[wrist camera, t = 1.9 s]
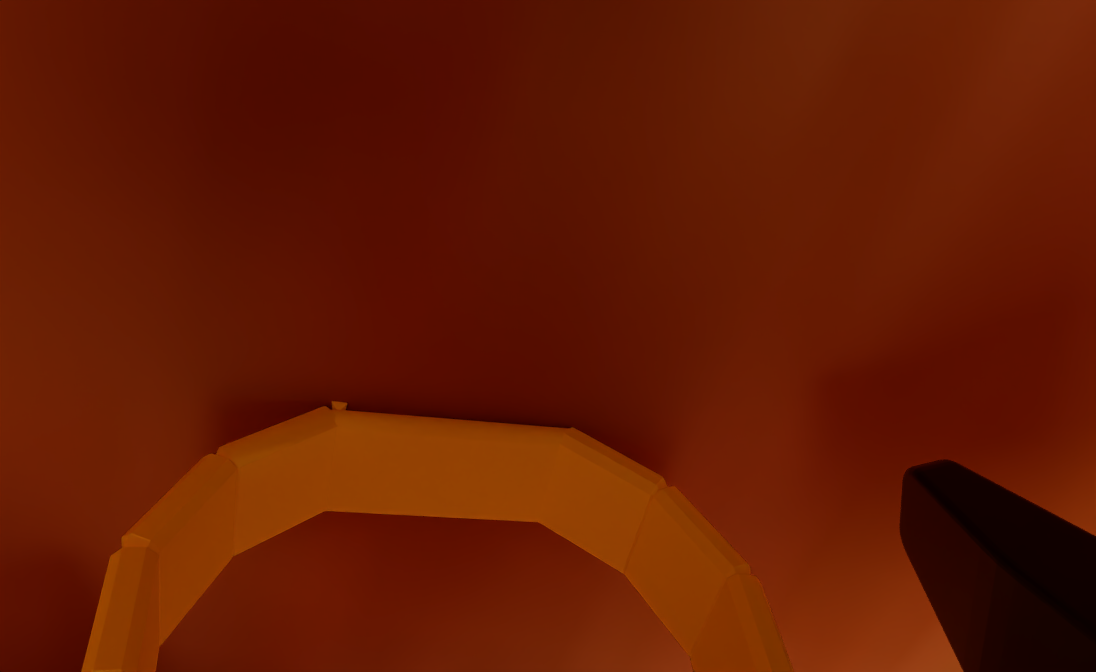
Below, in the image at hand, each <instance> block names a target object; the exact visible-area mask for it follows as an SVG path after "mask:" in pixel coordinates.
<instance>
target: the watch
mask: <svg viewBox="0 0 1096 672" xmlns="http://www.w3.org/2000/svg"><path fill="white" fill-rule="evenodd" d="M346 407H347V403H345V402H338V401H332V410H331V409H329V408H328V407H326V406H323V407H320V408H318V409H315V410H312V411H310V412H307V413H305V414H302V415H300V416H297V417H294V418H292V419H289V420H287V421H284V422H282V423H279V424H277V425H274V426H271V427H269V428H266V429H264V430H261V431H259V432H256V433H253V434H251V435H248V436H246V437H243V438H241V439H238V440H235V441H233V442H230V443H228V444H225V445H223V446H220V447H219V448H218V450H217V453H216V455H215V454H212V453H210V454H208V455H206V456H204V457H202V458H201V459H200V460H199V461H198V462H197V463H196V464H195V465H194V466H193V467H192V468H191V469H190V470H189V471H188V472H187V473H186V474H185V475H184V476H183V477H182V478H181V479H180V480H179V481H178V482H177V483H176V484H175V485H174V486H173V487H172V488H171V489H170V490H169V491H168V492H167V493H166V494H165V495H164V496H163V497H162V498H161V499H160V500H159V501H158V502H157V503H156V504H155V505H154V506H153V507H152V508H151V509H150V510H149V511H148V512H147V513H146V514H145V515H144V516H143V517H142V518H141V519H140V520H139V521H138V522H136V523H135V524H134V525H133V526H132V527H131V528H130V529H129V530H128V531H127V532H126V533H125V534H124V535H123V536H122V537H121V544H122V548H121V549H119V550H118V551H116V552H115V553H113V554H112V555H111V556H110V559H109V563H108V567H107V571H106V575H105V579H104V583H103V587H102V591H101V595H100V599H99V603H98V607H97V611H96V615H95V619H94V623H93V627H92V631H91V635H90V639H89V643H88V647H87V651H86V655H85V659H84V663H83V667H82V671H81V672H155V671H156V665H157V659H158V654H159V646H161V645H162V644H163V642H164V641H165V640H166V639H167V638H168V636H169V635H170V634H171V633H172V631H173V630H174V629H175V628H176V626H177V625H178V624H179V623H180V622H181V620H182V619H183V618H184V617H185V615H186V614H187V613H188V612H189V610H190V609H191V608H192V607H193V606H194V604H195V603H196V602H197V601H198V599H199V598H200V597H201V596H202V595H203V593H204V592H205V591H206V590H207V588H208V587H209V586H210V585H211V583H212V582H213V581H214V580H215V579H216V577H217V576H218V575H219V574H220V572H221V571H222V570H223V569H224V567H225V566H226V565H227V564H228V563H229V561H230V560H231V559H232V556H236V555H238V554H240V553H242V552H244V551H246V550H248V549H250V548H252V547H254V546H256V545H258V544H260V543H262V542H264V541H266V540H268V539H270V538H272V537H274V536H276V535H278V534H280V533H282V532H284V531H286V530H288V529H290V528H292V527H294V526H296V525H298V524H300V523H302V522H304V521H306V520H308V519H310V518H312V517H314V516H316V515H318V514H320V513H322V512H324V511H336V512H355V513H374V514H393V515H412V516H430V517H449V518H468V519H487V520H506V521H525V522H539V523H541V524H542V525H544V526H545V527H547V528H549V529H550V530H552V531H554V532H555V533H557V534H559V535H560V536H562V537H564V538H565V539H567V540H569V541H570V542H572V543H573V544H575V545H577V546H578V547H580V548H582V549H583V550H585V551H587V552H588V553H590V554H592V555H593V556H595V557H596V558H598V559H600V560H601V561H603V562H605V563H606V564H608V565H610V566H611V567H613V568H615V569H616V570H618V571H620V572H621V573H623V574H624V575H625V576H626V577H627V579H628V580H629V581H630V582H631V584H632V585H633V586H634V588H635V589H636V590H637V591H638V593H639V594H640V595H641V596H642V598H643V599H644V600H645V601H646V603H647V604H648V605H649V606H650V608H651V609H652V610H653V612H654V613H655V614H656V615H657V617H658V618H659V619H660V620H661V622H662V623H663V624H664V625H665V627H666V628H667V629H668V630H669V632H670V633H671V634H672V635H673V637H674V638H675V639H676V641H677V642H678V643H679V644H680V646H681V647H682V648H683V649H684V651H685V652H686V653H687V654H688V656H690V657H691V658H690V660H691V664H692V668H693V672H794V670H793V667H792V665H791V662H790V659H789V657H788V654H787V651H786V649H785V646H784V643H783V641H782V638H781V635H780V633H779V630H778V627H777V625H776V622H775V619H774V617H773V614H772V611H771V609H770V606H769V603H768V600H767V598H766V595H765V592H764V590H763V587H762V584H761V582H760V581H759V580H758V578H757V577H756V576H754V575H750V572H751V567H750V566H749V564H748V563H747V562H746V561H745V560H744V559H743V558H742V557H741V556H740V555H739V554H738V552H737V551H736V550H735V549H734V548H733V547H732V546H731V545H730V544H729V543H728V542H727V541H726V540H725V539H724V538H723V537H722V535H721V534H720V533H719V532H718V531H717V530H716V529H715V528H714V527H713V526H712V525H711V524H710V523H709V522H708V521H707V519H706V518H705V517H704V516H703V515H702V514H701V513H700V512H699V511H698V510H697V509H696V508H695V507H694V506H693V505H692V503H691V502H690V501H689V500H688V499H687V498H686V497H685V496H684V495H683V494H682V493H681V492H680V491H679V490H678V489H677V488H676V486H669V487H668V486H667V484H666V482H665V480H664V478H663V477H662V476H661V475H659V474H657V473H655V472H653V471H652V470H650V469H648V468H646V467H644V466H642V465H641V464H639V463H637V462H635V461H633V460H632V459H630V458H628V457H626V456H624V455H623V454H621V453H619V452H617V451H615V450H613V449H612V448H610V447H608V446H606V445H604V444H603V443H601V442H599V441H597V440H595V439H593V438H592V437H590V436H588V435H586V434H584V433H583V432H581V431H579V430H577V429H575V428H573V427H571V428H558V427H546V426H533V425H521V424H509V423H497V422H484V421H472V420H460V419H448V418H435V417H423V416H411V415H399V414H387V413H374V412H362V411H350V410H346Z"/></svg>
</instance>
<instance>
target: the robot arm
mask: <svg viewBox="0 0 1096 672" xmlns="http://www.w3.org/2000/svg"><path fill="white" fill-rule="evenodd" d="M900 535H901V539H902V543H903V546H904V549H905V551H906V553H907V555H908V557H909V560H910V562H911V564H912V566H913V568H914V570H915V572H916V574H917V576H918V578H919V580H920V582H921V584H922V587H923V589H924V591H925V593H926V595H927V597H928V599H929V601H930V603H931V605H932V607H933V609H934V611H935V613H936V616H937V618H938V620H939V622H940V624H941V626H942V628H943V630H944V632H945V634H946V636H947V638H948V640H949V643H950V645H951V647H952V649H953V651H954V653H955V655H956V657H957V659H958V661H959V663H960V665H961V667H962V670H963V671H964V672H1096V536H1094V535H1092V534H1090V533H1089V532H1087V531H1085V530H1083V529H1081V528H1079V527H1077V526H1075V525H1073V524H1072V523H1070V522H1068V521H1066V520H1064V519H1062V518H1060V517H1058V516H1056V515H1055V514H1053V513H1051V512H1049V511H1047V510H1045V509H1043V508H1041V507H1039V506H1038V505H1036V504H1034V503H1032V502H1030V501H1028V500H1026V499H1024V498H1022V497H1021V496H1019V495H1017V494H1015V493H1013V492H1011V491H1009V490H1007V489H1006V488H1004V487H1002V486H1000V485H998V484H996V483H994V482H992V481H990V480H989V479H987V478H985V477H983V476H981V475H979V474H977V473H975V472H973V471H972V470H970V469H968V468H966V467H964V466H962V465H960V464H958V463H956V462H954V461H950V460H938V461H934V462H929V463H925V464H921V465H917V466H913V467H910V468H909V469H907V471H906V472H905V474H904V477H903V484H902V498H901V512H900Z"/></svg>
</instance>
